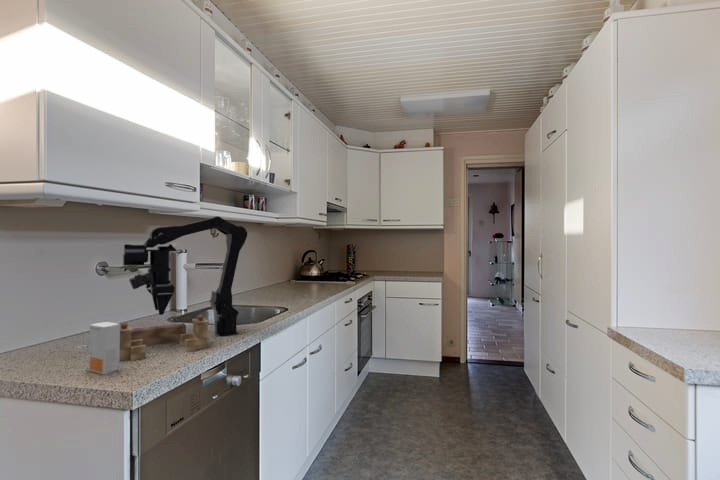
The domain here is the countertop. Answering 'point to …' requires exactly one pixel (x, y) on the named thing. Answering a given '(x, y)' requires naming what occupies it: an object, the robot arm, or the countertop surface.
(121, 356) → the wooden stepped supports
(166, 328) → the rail
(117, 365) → the skincare box
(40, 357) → the countertop surface
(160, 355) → the countertop surface
